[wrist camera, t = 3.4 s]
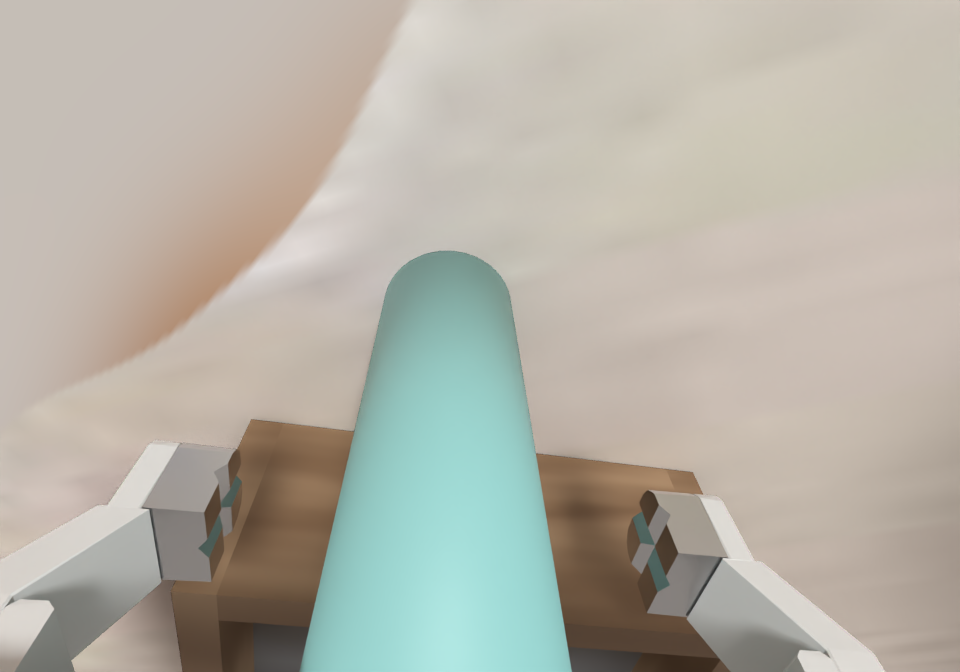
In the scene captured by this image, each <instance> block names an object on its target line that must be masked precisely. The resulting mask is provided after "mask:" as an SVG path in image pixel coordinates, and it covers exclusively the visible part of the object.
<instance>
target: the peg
mask: <svg viewBox="0 0 960 672" xmlns="http://www.w3.org/2000/svg"><path fill="white" fill-rule="evenodd" d="M299 672H572V670H571V664H570V658H569V652H568V646H567V640H566V634H565V628H564V622H563V616H562V609H561V603H560V597H559V591H558V585H557V579H556V573H555V567H554V561H553V555H552V549H551V543H550V537H549V530H548V524H547V518H546V512H545V506H544V500H543V494H542V488H541V482H540V476H539V470H538V464H537V458H536V451H535V445H534V439H533V433H532V427H531V421H530V415H529V409H528V403H527V397H526V391H525V385H524V379H523V372H522V366H521V360H520V354H519V348H518V342H517V336H516V330H515V324H514V318H513V312H512V306H511V300H510V295H509V291H508V289H507V286H506V284H505V282H504V281H503V279H502V278H501V276H500V275H499V274H498V273H497V271H496V270H495V269H493V268H492V267H491V266H490V265H489V264H487V263H486V262H484V261H483V260H481V259H479V258H477V257H475V256H472V255H469V254H466V253H462V252H456V251H438V252H432V253H428V254H424V255H422V256H419V257H417V258H415V259H413V260H411V261H410V262H408V263H407V264H406V265H404V266H403V267H402V268H401V269H400V270H399V271H398V272H397V273H396V274H395V276H394V277H393V278H392V280H391V282H390V284H389V286H388V288H387V291H386V295H385V299H384V303H383V308H382V312H381V316H380V321H379V325H378V330H377V334H376V338H375V343H374V347H373V351H372V356H371V360H370V365H369V369H368V373H367V378H366V382H365V386H364V391H363V395H362V400H361V404H360V408H359V413H358V417H357V422H356V426H355V430H354V435H353V439H352V443H351V448H350V452H349V457H348V461H347V465H346V470H345V474H344V478H343V483H342V487H341V492H340V496H339V500H338V505H337V509H336V513H335V518H334V522H333V527H332V531H331V535H330V540H329V544H328V549H327V553H326V557H325V562H324V566H323V570H322V575H321V579H320V584H319V588H318V592H317V597H316V601H315V605H314V610H313V614H312V619H311V623H310V627H309V632H308V636H307V640H306V645H305V649H304V654H303V658H302V662H301V667H300V671H299Z"/></svg>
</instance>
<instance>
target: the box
mask: <svg viewBox="0 0 960 672" xmlns="http://www.w3.org/2000/svg"><path fill="white" fill-rule="evenodd" d="M353 435H354V432H352V431H344V430H335V429H327V428H319V427H310V426H302V425H294V424H285V423H277V422H269V421H261V420H252V419H251V421H250V423H249V425H248V427H247V430H246V432H245V434H244V436H243V438H242V440H241V442H240V445H239V447H238V449H237V450H238V451H240V458H241V466H240V468H239V470H238V473H237V475H236V476H237V477H238V478H239V479H240V480H241V481H242V500H241V506H240V510H239V514H238V518H237V520H236V523H235V526H234V528H233V531H232V532H230V533H229V534H227V535H226V536H225V537H223V539H224V553H223V555H222V557H221V560H220V562H219V565H218V567H217V569H216V572H215V574H214V577H213V579H212V581H211V582H203V581H180V580H176V581H175V583H174V585H173V588H172V590H171V597H172V603H173V610H174V617H175V623H176V630H177V637H178V643H179V650H180V657H181V664H182V670H183V672H299V671H300V667H301V662H302V658H303V654H304V649H305V645H306V640H307V636H308V632H309V627H310V623H311V619H312V614H313V610H314V605H315V601H316V597H317V592H318V588H319V584H320V579H321V575H322V570H323V566H324V562H325V557H326V553H327V549H328V544H329V540H330V535H331V531H332V527H333V522H334V518H335V513H336V509H337V505H338V500H339V496H340V492H341V487H342V483H343V478H344V474H345V470H346V465H347V461H348V457H349V452H350V448H351V443H352V439H353ZM536 458H537V464H538V470H539V476H540V482H541V488H542V494H543V500H544V506H545V512H546V518H547V524H548V530H549V537H550V543H551V549H552V555H553V561H554V567H555V573H556V579H557V585H558V591H559V597H560V603H561V609H562V616H563V622H564V628H565V634H566V640H567V646H568V652H569V658H570V664H571V670H572V672H730V670H729V669H728V668H727V667H726V666H725V664H724V663H723V662H722V661H721V660H720V658H719V657H718V656H717V655H716V654H715V652H714V651H713V650H712V649H711V648H710V647H709V645H708V644H707V643H706V642H705V641H704V639H703V638H702V637H701V636H700V635H699V633H698V632H697V631H696V630H695V629H694V627H693V626H692V625H691V624H690V623H689V622H688V620H687V618H688V617H681V616H671V615H661V614H651V613H647V612H646V609H645V606H644V603H643V600H642V597H641V594H640V590H639V587H638V584H637V582H638V580H639V578H640V576H641V573H640V572H639V571H638V570H637V569H636V568H635V567H634V566H633V565H632V564H631V561H630V558H629V555H628V549H627V533H628V528H629V525H630V522H631V520H632V518H633V517H634V516H636V515H637V514H639V513H640V512H642V510H641V507H640V504H639V502H640V500H641V498H642V495H643V494H644V493H645V492H646V491H647V490H655V491H666V492H677V493H689V494H701V495H703V493H702V491H701V489H700V487H699V484H698V482H697V480H696V478H695V476H694V474H693V472H684V471H676V470H668V469H659V468H651V467H643V466H634V465H626V464H618V463H610V462H601V461H593V460H585V459H576V458H568V457H560V456H551V455H543V454H536Z"/></svg>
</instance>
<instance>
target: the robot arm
mask: <svg viewBox="0 0 960 672" xmlns="http://www.w3.org/2000/svg"><path fill="white" fill-rule="evenodd" d="M240 466H241V458H240V451H238V450H237V449H231V448H223V447H214V446H206V445H198V444H190V443H177V442H169V441H161V440H154V441H153V442H152V443H150V444H149V445H148V446H147V447H146V449H145V450H144V452H143V453H142V454H141V456H140V457H139V459H138V460H137V462H136V463H135V465H134V466H133V468H132V469H131V471H130V472H129V474H128V475H127V477H126V478H125V480H124V481H123V482H122V484H121V485H120V487H119V488H118V490H117V491H116V493H115V494H114V496H113V497H112V499H111V500H110V502H109V503H108V505H97V506H95V507H93V508H92V509H90V510H88V511H86V512H85V513H83V514H81V515H79V516H77V517H76V518H74V519H72V520H70V521H69V522H67V523H65V524H63V525H61V526H60V527H58V528H56V529H54V530H53V531H51V532H49V533H47V534H46V535H44V536H42V537H40V538H38V539H37V540H35V541H33V542H31V543H30V544H28V545H26V546H24V547H22V548H21V549H19V550H17V551H15V552H14V553H12V554H10V555H8V556H6V557H5V558H3V559H1V560H0V672H75V671H74V668H73V665H72V662H71V660H72V659H73V658H75V657H76V656H77V655H78V654H79V653H80V652H81V651H83V650H84V649H85V648H86V647H87V646H88V645H90V644H91V643H92V642H93V641H94V640H95V639H97V638H98V637H99V636H100V635H101V634H102V633H104V632H105V631H106V630H107V629H108V628H109V627H111V626H112V625H113V624H114V623H115V622H116V621H117V620H119V619H120V618H121V617H122V616H123V615H124V614H126V613H127V612H128V611H129V610H130V609H131V608H133V607H134V606H135V605H136V604H137V603H138V602H140V601H141V600H142V599H143V598H144V597H145V596H146V595H148V594H149V593H150V592H151V591H152V590H153V589H155V588H156V587H157V586H158V585H159V584H160V583H161V580H180V581H203V582H211V581H212V579H213V577H214V574H215V572H216V569H217V567H218V565H219V562H220V560H221V557H222V555H223V553H224V539H223V537H225V536H226V535H227V534H229V533H230V532H232V531H233V528H234V526H235V523H236V520H237V518H238V514H239V510H240V506H241V500H242V481H241V480H240V479H239V478H238V477H237V476H236V475H237V473H238V470H239V468H240ZM639 504H640V507H641V510H642V512H640V513H639V514H637V515H636V516H634V517H633V518H632V520H631V522H630V525H629V528H628V533H627V549H628V555H629V558H630V561H631V564H632V565H633V566H634V567H635V568H636V569H637V570H638V571H639V572H640V573H641V576H640V578H639V580H638V582H637V584H638V587H639V590H640V594H641V597H642V600H643V603H644V606H645V609H646V612H647V613H651V614H661V615H671V616H681V617H688V618H687V620H688V622H689V623H690V624H691V625H692V626H693V627H694V629H695V630H696V631H697V632H698V633H699V635H700V636H701V637H702V638H703V639H704V641H705V642H706V643H707V644H708V645H709V647H710V648H711V649H712V650H713V651H714V652H715V654H716V655H717V656H718V657H719V658H720V660H721V661H722V662H723V663H724V664H725V666H726V667H727V668H728V669H729V670H730V672H885V670H884V669H883V667H882V665H881V664H880V662H879V661H878V659H877V658H876V656H875V654H874V653H873V652H871V651H870V650H869V649H868V648H867V647H865V646H864V645H863V644H862V643H860V642H859V641H858V640H857V639H856V638H854V637H853V636H852V635H851V634H849V633H848V632H847V631H846V630H845V629H843V628H842V627H841V626H840V625H838V624H837V623H836V622H835V621H834V620H832V619H831V618H830V617H829V616H827V615H826V614H825V613H824V612H823V611H821V610H820V609H819V608H818V607H816V606H815V605H814V604H813V603H812V602H810V601H809V600H808V599H807V598H805V597H804V596H803V595H802V594H801V593H799V592H798V591H797V590H796V589H794V588H793V587H792V586H791V585H790V584H788V583H787V582H786V581H785V580H783V579H782V578H781V577H780V576H779V575H777V574H776V573H775V572H774V571H772V570H771V569H770V568H769V567H768V566H766V565H765V564H764V563H763V562H760V561H755V560H754V559H753V557H752V555H751V553H750V551H749V549H748V547H747V546H746V544H745V542H744V540H743V538H742V536H741V534H740V532H739V531H738V529H737V527H736V525H735V523H734V521H733V519H732V518H731V516H730V514H729V512H728V510H727V508H726V506H725V505H724V503H723V501H722V500H721V499H720V498H719V497H718V496H713V495H701V494H689V493H677V492H666V491H655V490H647V491H646V492H645V493H644V494H643V495H642V498H641V500H640V502H639Z"/></svg>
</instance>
